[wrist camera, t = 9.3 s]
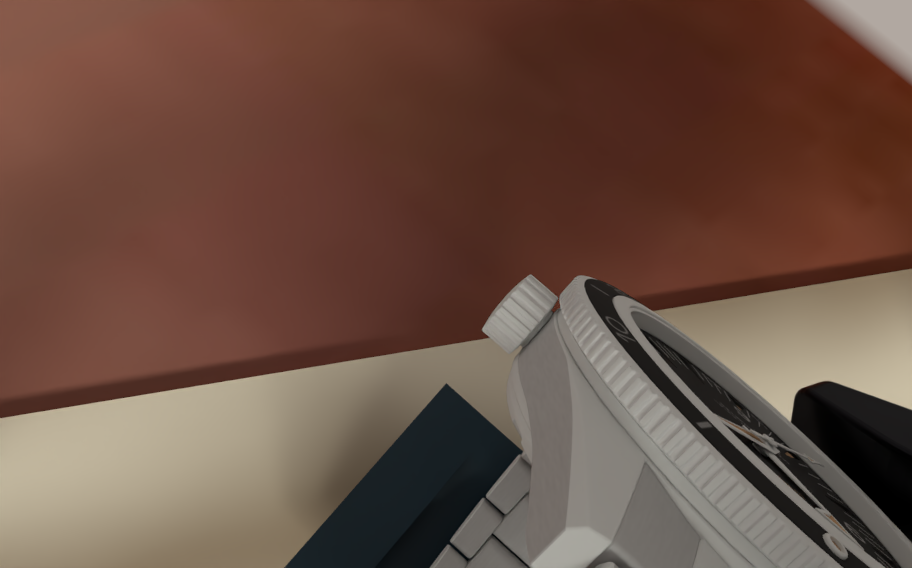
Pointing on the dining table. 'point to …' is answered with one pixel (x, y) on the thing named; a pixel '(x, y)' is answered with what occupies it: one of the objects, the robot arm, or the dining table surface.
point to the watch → (605, 462)
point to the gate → (361, 431)
